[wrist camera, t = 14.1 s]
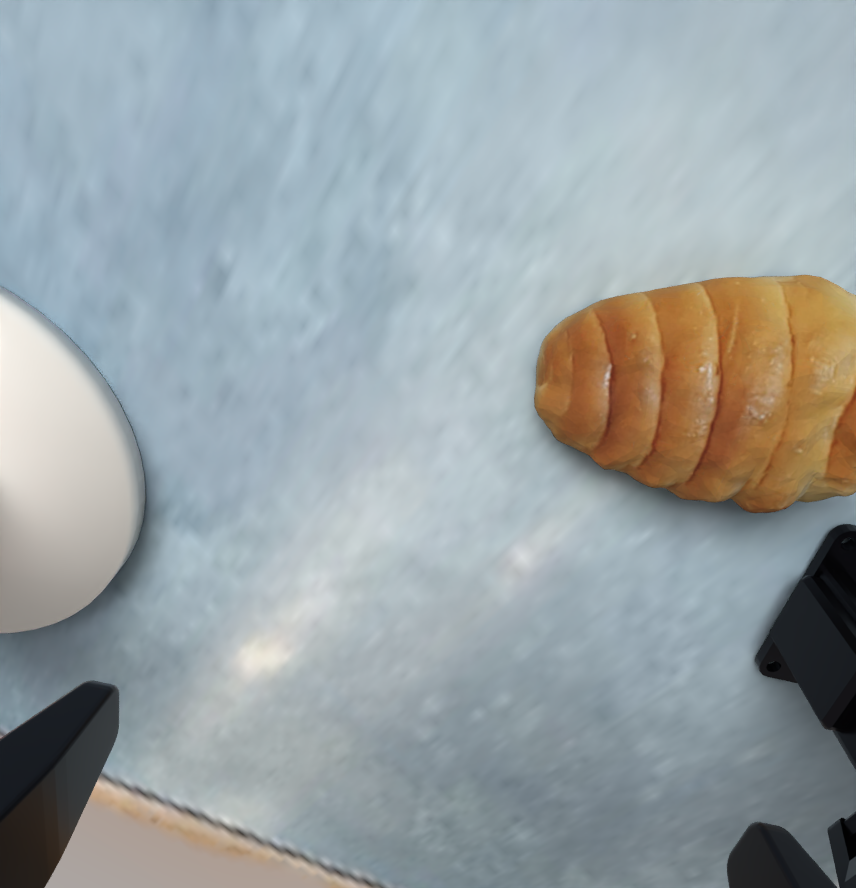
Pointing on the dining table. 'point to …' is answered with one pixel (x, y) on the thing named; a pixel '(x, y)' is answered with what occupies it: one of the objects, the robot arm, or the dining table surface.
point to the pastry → (712, 389)
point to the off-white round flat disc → (59, 474)
